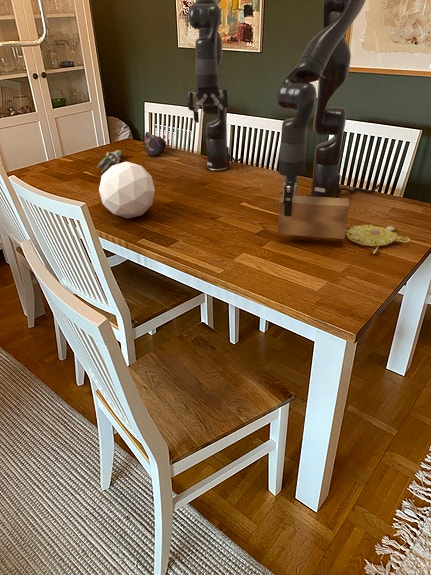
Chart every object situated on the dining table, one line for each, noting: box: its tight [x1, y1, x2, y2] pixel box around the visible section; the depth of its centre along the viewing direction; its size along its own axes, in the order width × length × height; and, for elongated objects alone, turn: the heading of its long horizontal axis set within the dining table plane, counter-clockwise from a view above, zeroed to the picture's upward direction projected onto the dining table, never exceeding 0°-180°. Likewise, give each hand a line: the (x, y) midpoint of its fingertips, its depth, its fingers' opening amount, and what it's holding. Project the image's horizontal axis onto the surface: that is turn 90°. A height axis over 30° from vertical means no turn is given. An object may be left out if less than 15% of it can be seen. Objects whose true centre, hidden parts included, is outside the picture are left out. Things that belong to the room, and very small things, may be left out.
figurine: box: [96, 150, 123, 174], centre depth 213 cm, size 7×8×30 cm
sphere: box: [98, 160, 156, 220], centre depth 157 cm, size 19×20×20 cm
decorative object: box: [345, 223, 411, 255], centre depth 140 cm, size 21×2×20 cm
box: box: [277, 194, 350, 240], centre depth 136 cm, size 20×6×11 cm, turn 76°
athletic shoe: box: [143, 131, 170, 157], centre depth 230 cm, size 11×22×12 cm
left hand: (208, 121), depth 161 cm, fingers open, 8 cm apart
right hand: (288, 211), depth 137 cm, fingers closed on box, 6 cm apart
